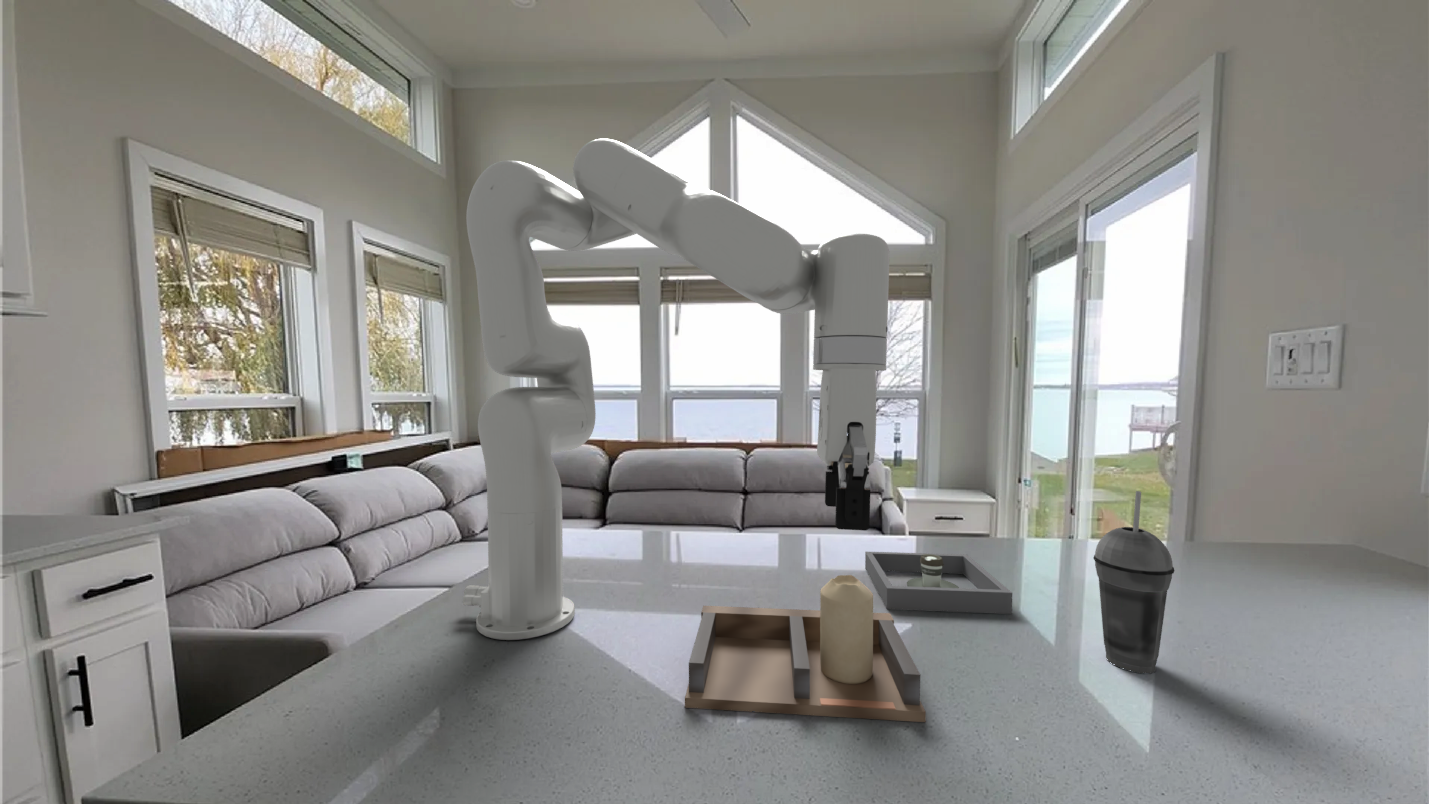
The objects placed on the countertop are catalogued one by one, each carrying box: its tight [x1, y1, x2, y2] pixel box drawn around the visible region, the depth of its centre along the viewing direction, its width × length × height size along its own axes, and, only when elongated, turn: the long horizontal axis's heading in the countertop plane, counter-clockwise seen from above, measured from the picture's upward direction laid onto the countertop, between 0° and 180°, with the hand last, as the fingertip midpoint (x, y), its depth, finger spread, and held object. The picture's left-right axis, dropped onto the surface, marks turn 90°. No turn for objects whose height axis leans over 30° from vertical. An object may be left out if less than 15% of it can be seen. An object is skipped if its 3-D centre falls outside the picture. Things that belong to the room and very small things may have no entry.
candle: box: [819, 574, 874, 684], centre depth 57 cm, size 6×6×10 cm
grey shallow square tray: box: [864, 551, 1013, 615], centre depth 84 cm, size 17×17×3 cm
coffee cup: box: [906, 553, 960, 588], centre depth 83 cm, size 12×12×5 cm
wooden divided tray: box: [684, 605, 927, 723], centre depth 59 cm, size 23×15×4 cm, turn 84°
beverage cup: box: [1093, 490, 1175, 674], centre depth 61 cm, size 7×7×20 cm
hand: (845, 516), depth 57 cm, fingers open, 9 cm apart
